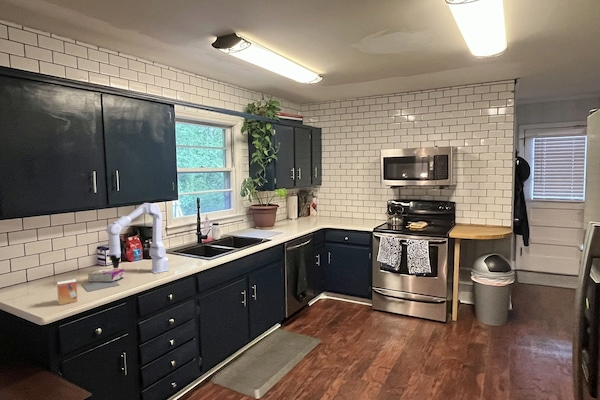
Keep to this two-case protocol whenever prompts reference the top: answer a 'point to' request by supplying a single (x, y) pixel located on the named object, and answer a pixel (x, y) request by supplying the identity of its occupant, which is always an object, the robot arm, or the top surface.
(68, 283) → the small box
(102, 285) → the mat
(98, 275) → the candy bar box
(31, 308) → the top surface
